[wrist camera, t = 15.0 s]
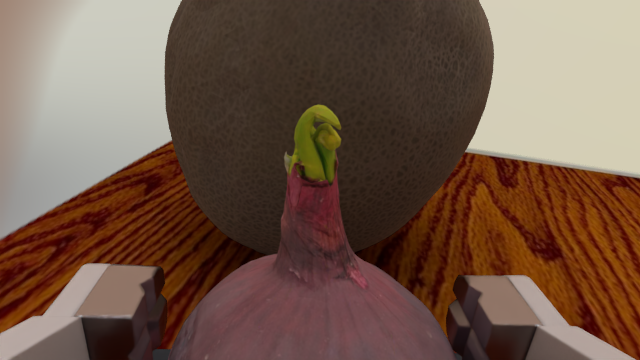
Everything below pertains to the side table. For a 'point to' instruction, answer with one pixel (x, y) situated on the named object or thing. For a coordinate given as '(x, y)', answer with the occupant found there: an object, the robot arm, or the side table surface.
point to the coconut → (323, 89)
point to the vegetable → (311, 283)
